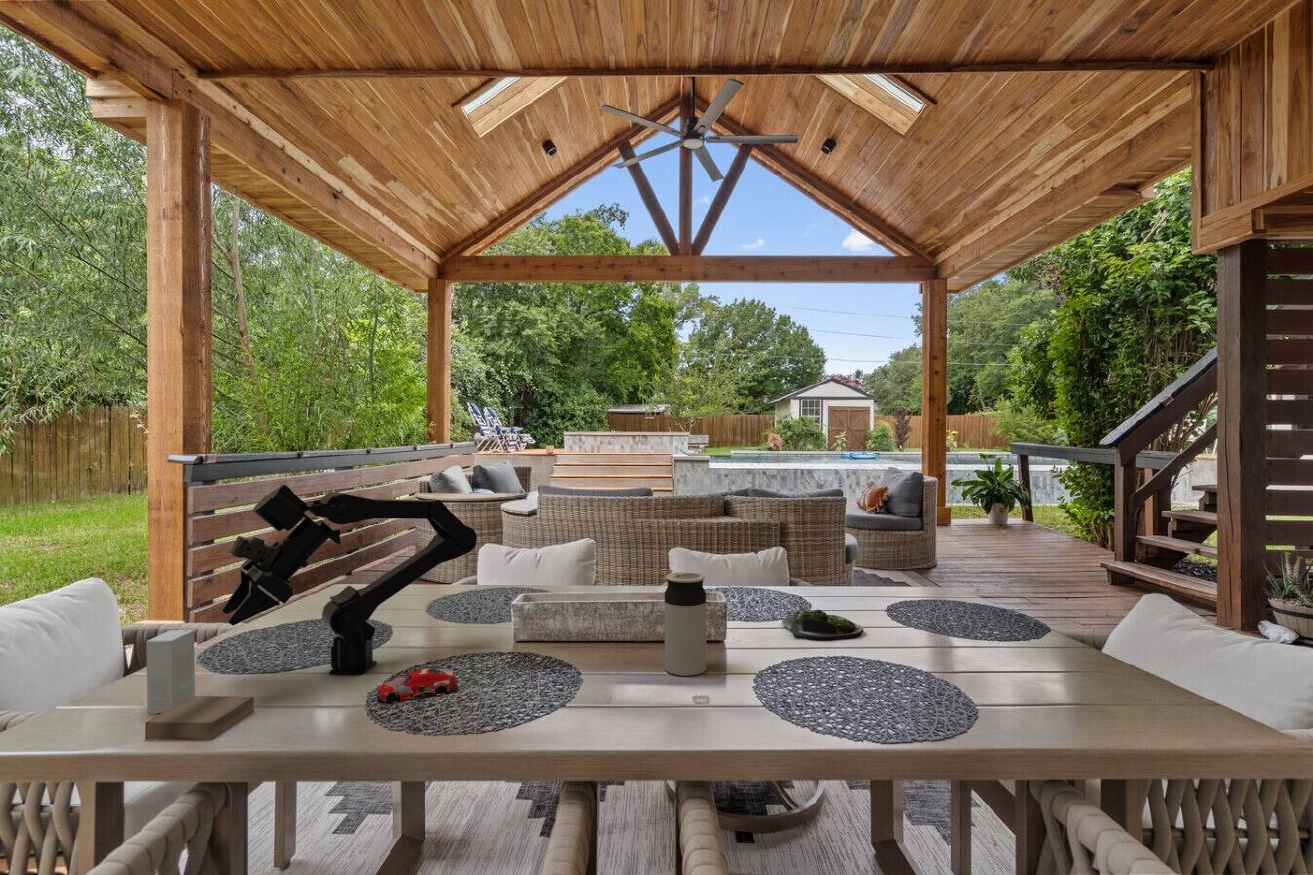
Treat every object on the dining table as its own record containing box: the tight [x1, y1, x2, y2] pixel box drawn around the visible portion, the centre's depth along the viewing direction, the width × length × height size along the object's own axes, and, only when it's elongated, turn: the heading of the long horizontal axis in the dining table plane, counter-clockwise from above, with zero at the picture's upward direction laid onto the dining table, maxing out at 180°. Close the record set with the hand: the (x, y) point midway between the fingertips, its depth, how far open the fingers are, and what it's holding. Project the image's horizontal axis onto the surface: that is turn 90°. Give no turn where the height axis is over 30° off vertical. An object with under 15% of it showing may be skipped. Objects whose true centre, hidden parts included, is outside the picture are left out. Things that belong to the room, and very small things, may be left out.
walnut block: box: [144, 695, 255, 741], centre depth 104 cm, size 10×10×3 cm
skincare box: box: [145, 629, 196, 715], centre depth 111 cm, size 6×4×12 cm
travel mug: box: [664, 571, 707, 677], centre depth 128 cm, size 8×8×18 cm
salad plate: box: [781, 608, 864, 642], centre depth 156 cm, size 19×18×5 cm
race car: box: [376, 667, 459, 703], centre depth 117 cm, size 13×5×4 cm, turn 113°
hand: (227, 618), depth 116 cm, fingers open, 9 cm apart
